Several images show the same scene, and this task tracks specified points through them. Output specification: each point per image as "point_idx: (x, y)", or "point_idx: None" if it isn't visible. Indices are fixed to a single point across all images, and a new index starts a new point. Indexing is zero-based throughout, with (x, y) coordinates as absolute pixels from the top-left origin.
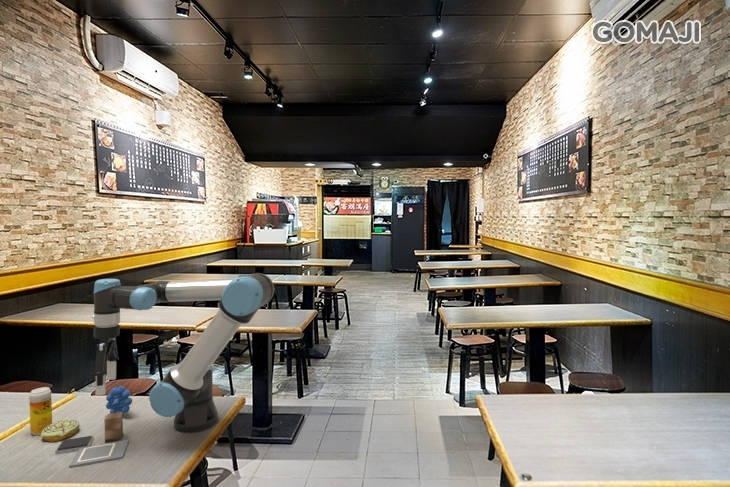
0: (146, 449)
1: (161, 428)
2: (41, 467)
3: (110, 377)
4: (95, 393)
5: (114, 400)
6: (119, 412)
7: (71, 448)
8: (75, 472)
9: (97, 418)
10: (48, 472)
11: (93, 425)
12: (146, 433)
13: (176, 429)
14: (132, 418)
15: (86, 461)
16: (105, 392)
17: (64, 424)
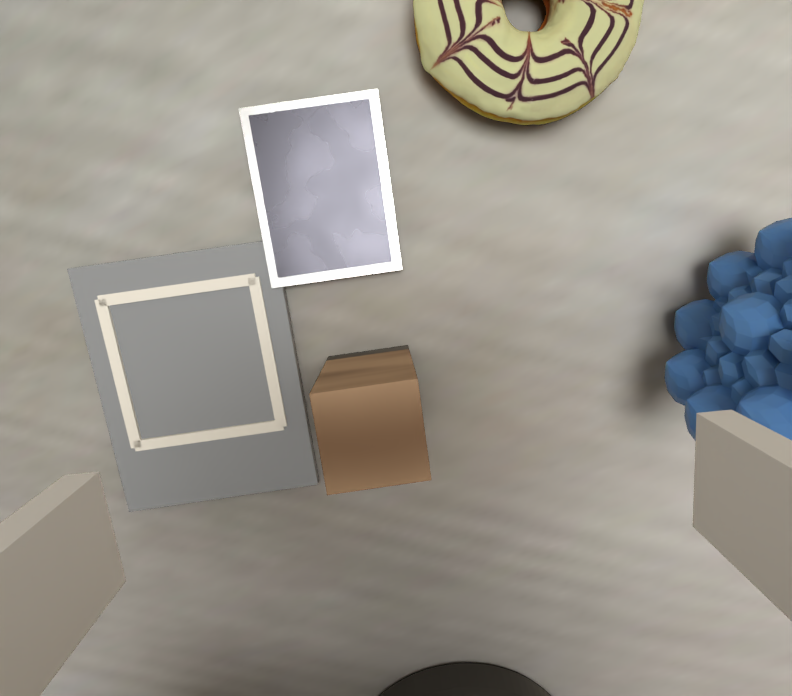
0: (210, 592)
1: (441, 604)
2: (102, 102)
3: (719, 479)
4: (48, 487)
5: (759, 310)
6: (425, 462)
7: (258, 197)
8: (24, 320)
9: (710, 176)
10: (42, 171)
11: (601, 192)
12: (398, 543)
13: (390, 691)
14: (633, 407)
15: (104, 343)
16: (103, 597)
17: (566, 8)
